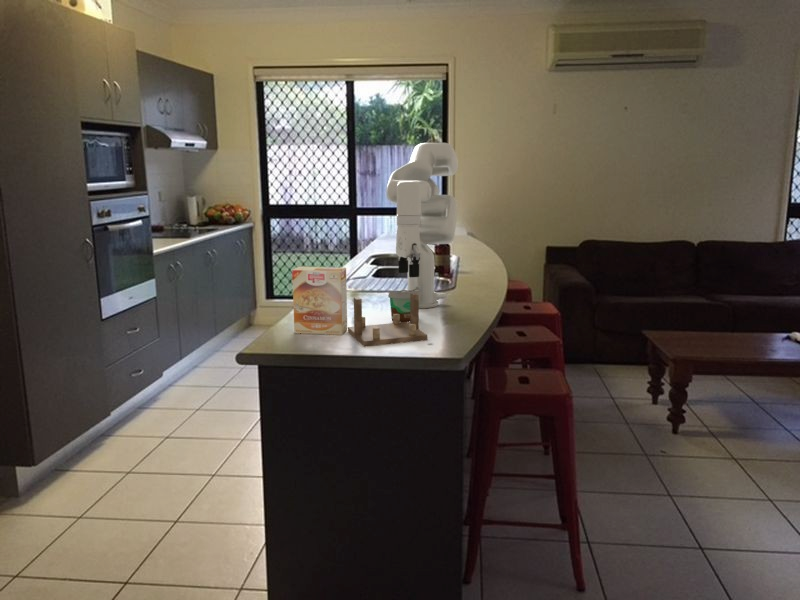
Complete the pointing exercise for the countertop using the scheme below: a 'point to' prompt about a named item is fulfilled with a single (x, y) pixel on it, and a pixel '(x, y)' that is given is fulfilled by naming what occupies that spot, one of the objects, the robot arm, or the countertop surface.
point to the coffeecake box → (320, 300)
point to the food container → (402, 303)
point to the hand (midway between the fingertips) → (408, 274)
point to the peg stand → (387, 326)
